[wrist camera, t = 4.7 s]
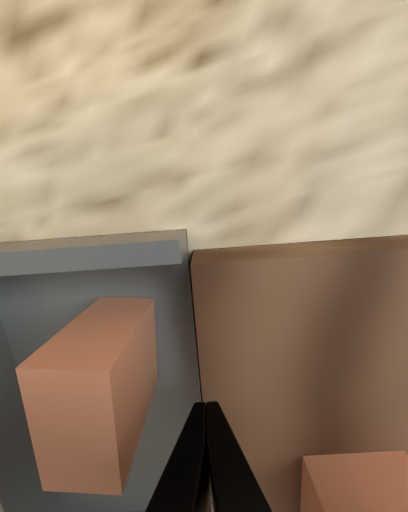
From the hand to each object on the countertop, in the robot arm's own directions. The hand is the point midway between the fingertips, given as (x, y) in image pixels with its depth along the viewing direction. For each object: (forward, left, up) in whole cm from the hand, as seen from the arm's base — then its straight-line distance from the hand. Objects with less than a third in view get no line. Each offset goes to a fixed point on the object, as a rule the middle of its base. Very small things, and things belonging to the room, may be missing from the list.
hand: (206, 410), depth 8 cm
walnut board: (-6, +3, -4) cm, 8 cm away
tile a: (+2, -1, -1) cm, 3 cm away
